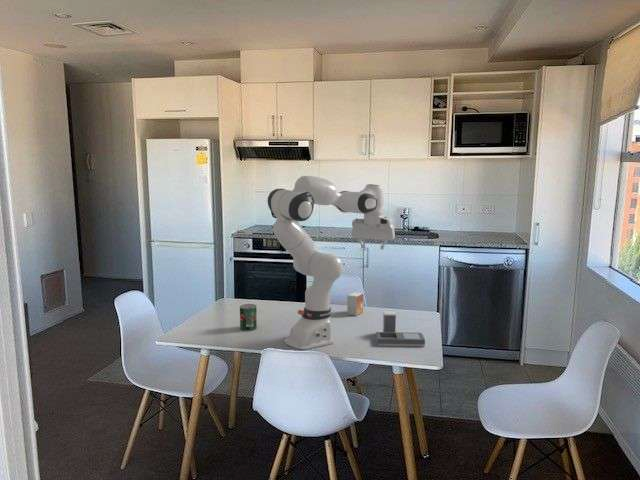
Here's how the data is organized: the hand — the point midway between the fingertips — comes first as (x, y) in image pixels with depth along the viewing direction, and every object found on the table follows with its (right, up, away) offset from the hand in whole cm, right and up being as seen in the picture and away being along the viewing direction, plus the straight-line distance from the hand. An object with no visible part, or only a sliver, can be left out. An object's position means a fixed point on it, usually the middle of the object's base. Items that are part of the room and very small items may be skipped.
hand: (372, 248), depth 230 cm
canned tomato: (-59, -38, +2) cm, 70 cm away
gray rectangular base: (+10, -41, -17) cm, 46 cm away
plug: (+7, -39, -7) cm, 40 cm away
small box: (-6, -35, +26) cm, 44 cm away
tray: (+7, -40, -6) cm, 41 cm away
